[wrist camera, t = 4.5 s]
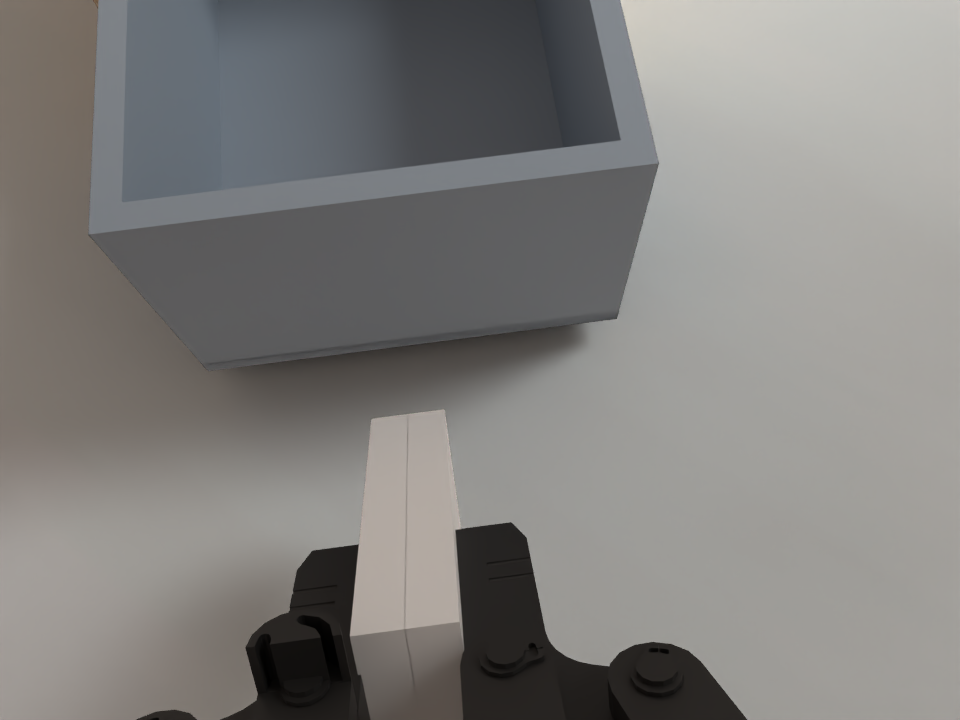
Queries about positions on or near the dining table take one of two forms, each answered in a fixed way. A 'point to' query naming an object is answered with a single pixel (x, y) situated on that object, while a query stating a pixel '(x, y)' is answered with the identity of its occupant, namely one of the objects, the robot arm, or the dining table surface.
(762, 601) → the dining table surface
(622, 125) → the drawer tray
